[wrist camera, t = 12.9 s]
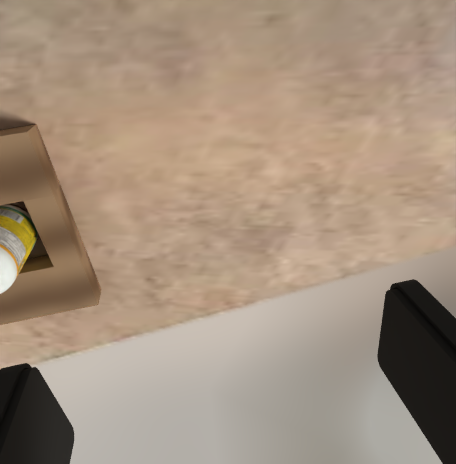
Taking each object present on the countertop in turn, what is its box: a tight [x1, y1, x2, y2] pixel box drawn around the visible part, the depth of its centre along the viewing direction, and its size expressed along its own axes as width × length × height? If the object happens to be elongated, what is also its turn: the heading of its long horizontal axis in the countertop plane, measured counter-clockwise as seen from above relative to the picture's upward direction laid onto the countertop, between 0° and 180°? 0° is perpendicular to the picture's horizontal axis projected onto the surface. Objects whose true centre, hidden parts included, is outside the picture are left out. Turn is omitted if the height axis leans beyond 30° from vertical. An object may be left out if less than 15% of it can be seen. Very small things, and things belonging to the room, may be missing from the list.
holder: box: [0, 124, 101, 325], centre depth 33 cm, size 18×12×2 cm, turn 7°
